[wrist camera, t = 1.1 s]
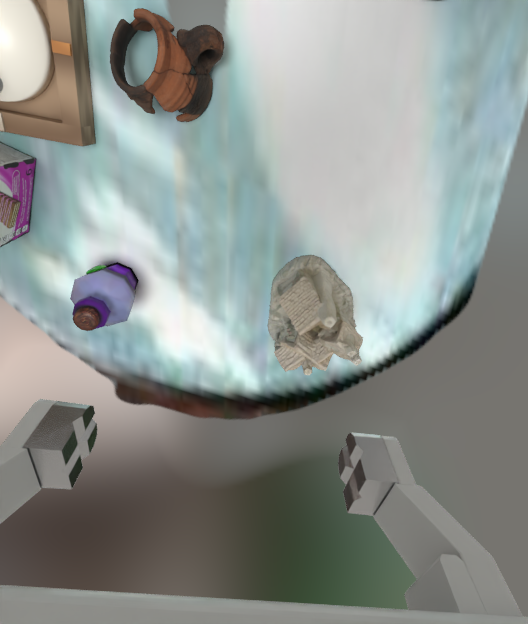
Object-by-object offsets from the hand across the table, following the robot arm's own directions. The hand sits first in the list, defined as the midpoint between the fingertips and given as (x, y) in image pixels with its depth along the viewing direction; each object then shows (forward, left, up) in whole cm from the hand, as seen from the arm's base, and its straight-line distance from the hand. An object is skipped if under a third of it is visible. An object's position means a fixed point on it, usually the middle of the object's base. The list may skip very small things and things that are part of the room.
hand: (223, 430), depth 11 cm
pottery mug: (-11, -10, -40) cm, 43 cm away
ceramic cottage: (+18, +11, -40) cm, 45 cm away
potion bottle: (+18, -19, -40) cm, 47 cm away
